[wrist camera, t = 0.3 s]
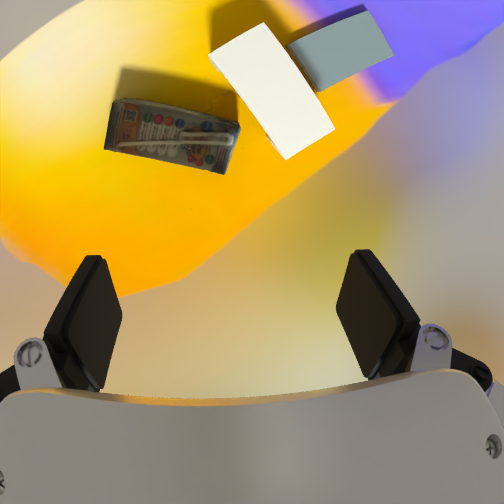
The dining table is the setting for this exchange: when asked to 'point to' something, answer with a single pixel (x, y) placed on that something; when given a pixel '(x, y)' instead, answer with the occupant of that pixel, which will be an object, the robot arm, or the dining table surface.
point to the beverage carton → (171, 134)
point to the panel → (340, 50)
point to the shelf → (273, 90)
